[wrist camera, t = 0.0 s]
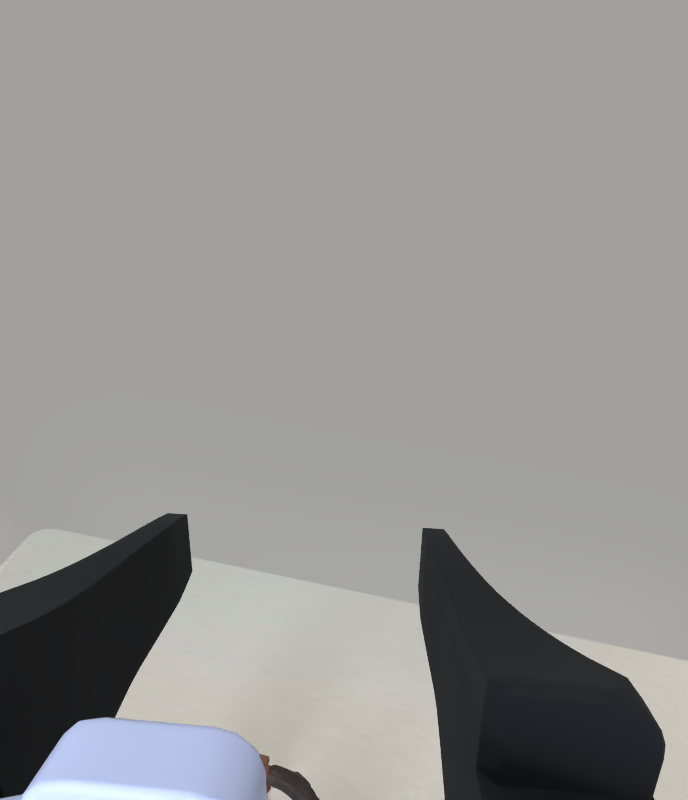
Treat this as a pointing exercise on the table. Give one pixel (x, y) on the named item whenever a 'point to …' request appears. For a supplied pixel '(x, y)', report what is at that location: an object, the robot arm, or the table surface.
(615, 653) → the table surface
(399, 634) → the table surface
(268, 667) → the table surface
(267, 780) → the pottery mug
